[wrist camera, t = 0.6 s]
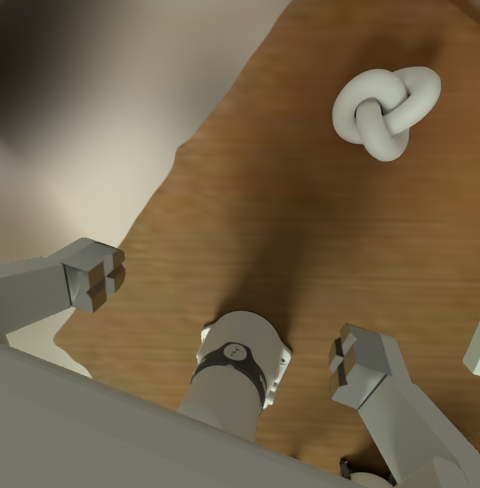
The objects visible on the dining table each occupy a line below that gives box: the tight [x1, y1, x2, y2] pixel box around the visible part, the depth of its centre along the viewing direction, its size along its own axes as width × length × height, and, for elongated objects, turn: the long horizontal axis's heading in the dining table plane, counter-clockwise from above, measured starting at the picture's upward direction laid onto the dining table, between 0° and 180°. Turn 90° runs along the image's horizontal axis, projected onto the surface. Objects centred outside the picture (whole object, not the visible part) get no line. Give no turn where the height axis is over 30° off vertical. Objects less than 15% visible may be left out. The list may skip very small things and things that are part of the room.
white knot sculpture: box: [332, 67, 441, 161], centre depth 34 cm, size 11×12×9 cm
